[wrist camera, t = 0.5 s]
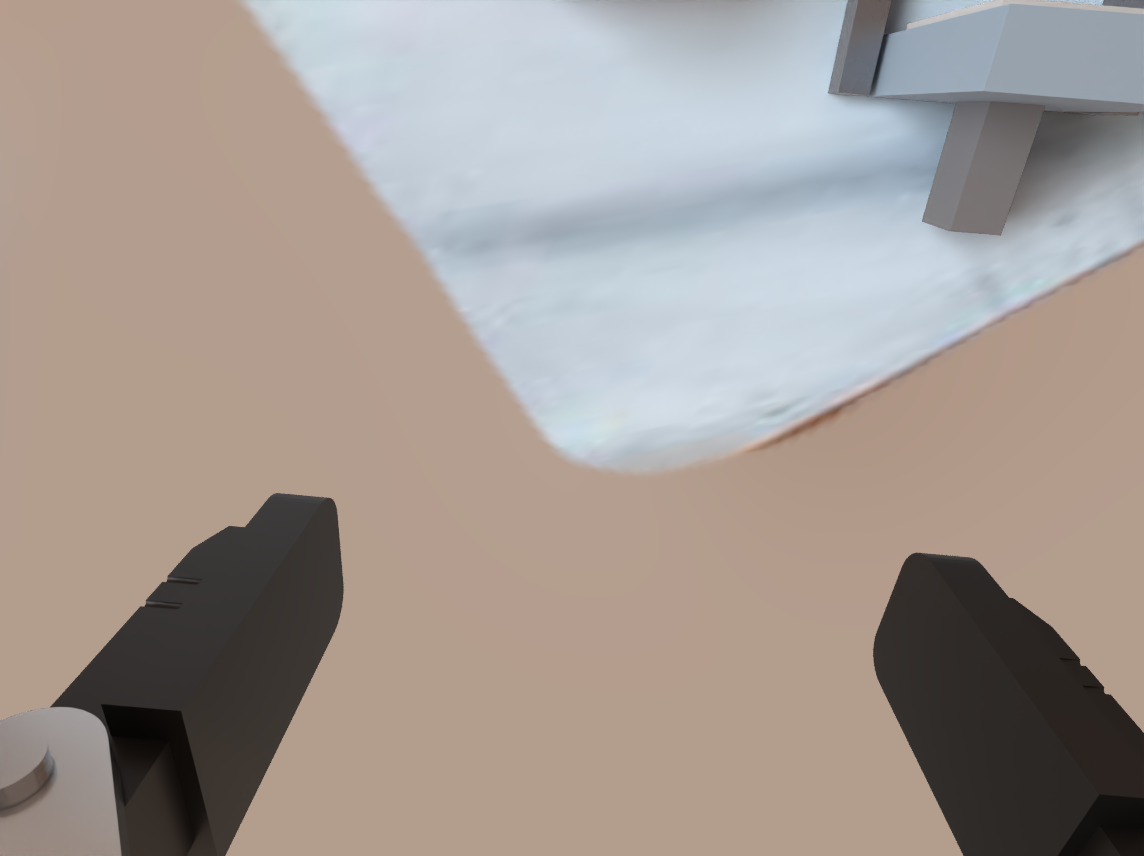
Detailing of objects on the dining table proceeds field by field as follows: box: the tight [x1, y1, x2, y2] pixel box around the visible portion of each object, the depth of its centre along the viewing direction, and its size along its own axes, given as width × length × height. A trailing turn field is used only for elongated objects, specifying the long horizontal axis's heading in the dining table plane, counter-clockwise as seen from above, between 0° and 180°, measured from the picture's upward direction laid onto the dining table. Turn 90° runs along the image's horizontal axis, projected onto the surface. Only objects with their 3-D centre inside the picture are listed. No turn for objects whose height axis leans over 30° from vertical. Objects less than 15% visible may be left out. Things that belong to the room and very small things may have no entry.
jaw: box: [867, 0, 1144, 235], centre depth 29 cm, size 8×10×11 cm
